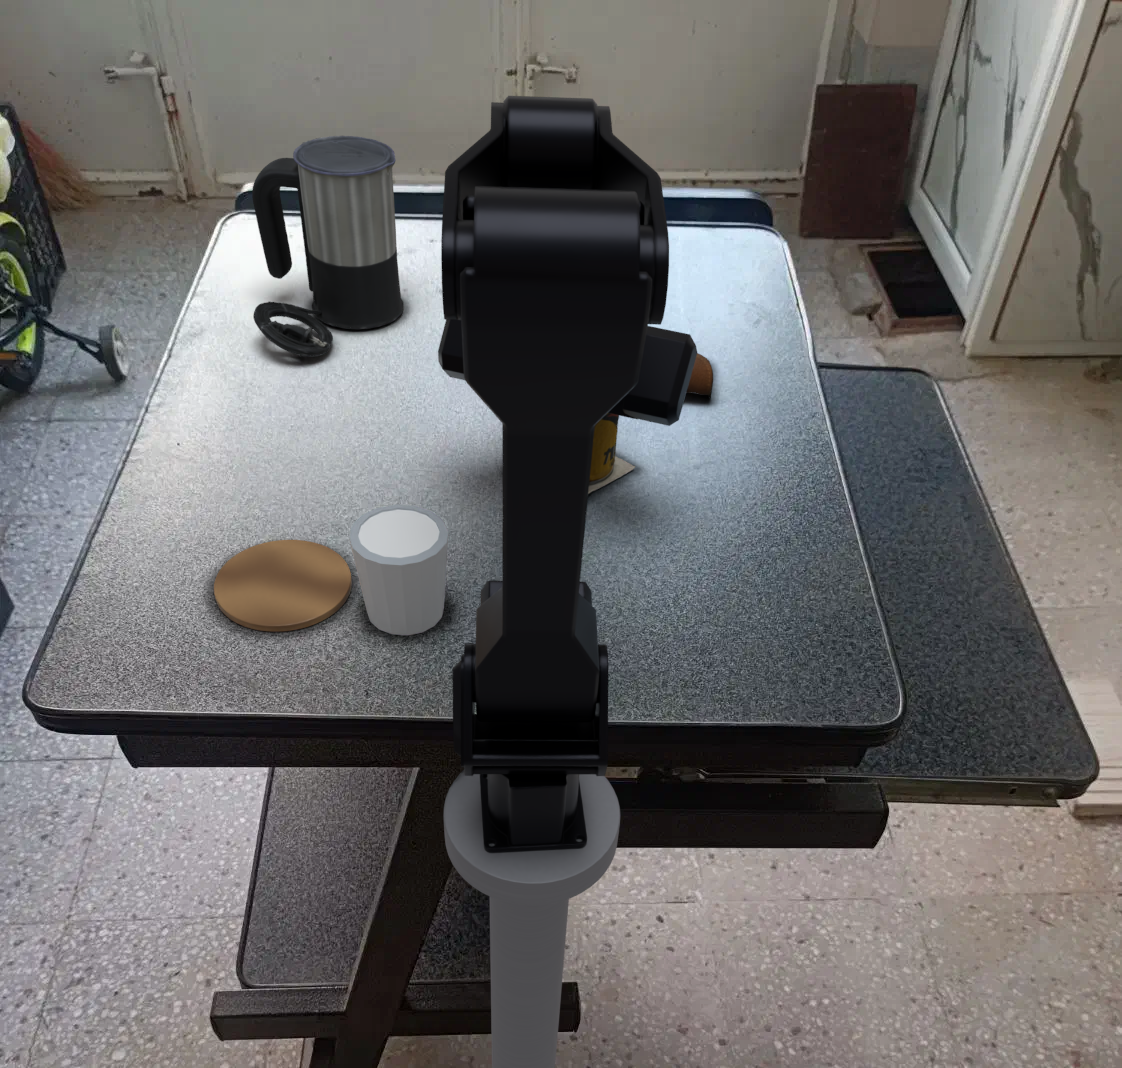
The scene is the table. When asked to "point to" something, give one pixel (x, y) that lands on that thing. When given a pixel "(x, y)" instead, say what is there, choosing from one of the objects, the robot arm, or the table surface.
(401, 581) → the white tapered cup
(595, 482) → the condiment
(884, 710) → the table surface
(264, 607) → the cork coaster
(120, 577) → the table surface
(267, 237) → the milk frother
